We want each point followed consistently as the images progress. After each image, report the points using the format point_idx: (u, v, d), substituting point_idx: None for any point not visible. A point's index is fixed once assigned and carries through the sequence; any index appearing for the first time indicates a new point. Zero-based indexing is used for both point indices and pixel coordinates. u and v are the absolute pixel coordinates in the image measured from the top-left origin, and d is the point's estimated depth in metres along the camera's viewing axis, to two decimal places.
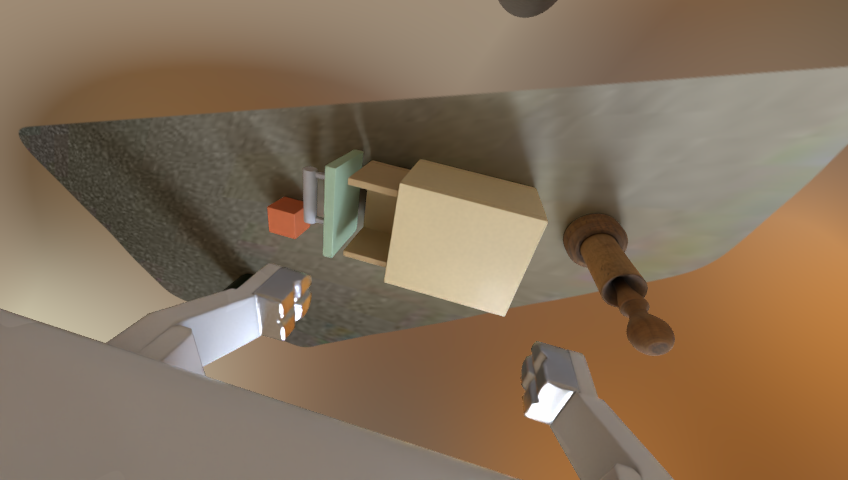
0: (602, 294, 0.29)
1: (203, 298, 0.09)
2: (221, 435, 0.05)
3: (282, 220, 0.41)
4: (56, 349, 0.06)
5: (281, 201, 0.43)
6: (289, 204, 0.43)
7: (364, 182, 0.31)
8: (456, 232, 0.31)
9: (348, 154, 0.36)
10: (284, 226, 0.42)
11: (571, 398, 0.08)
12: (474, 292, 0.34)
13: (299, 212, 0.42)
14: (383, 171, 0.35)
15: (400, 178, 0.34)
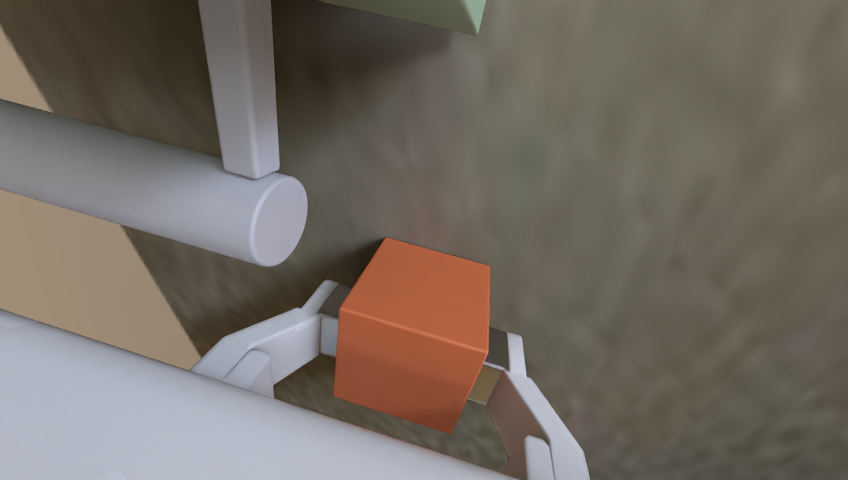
0: None
1: (272, 319, 0.08)
2: (221, 435, 0.05)
3: (385, 368, 0.09)
4: (56, 349, 0.06)
5: None
6: None
7: None
8: None
9: None
10: (413, 369, 0.08)
11: (501, 377, 0.09)
12: None
13: (369, 281, 0.09)
14: None
15: None
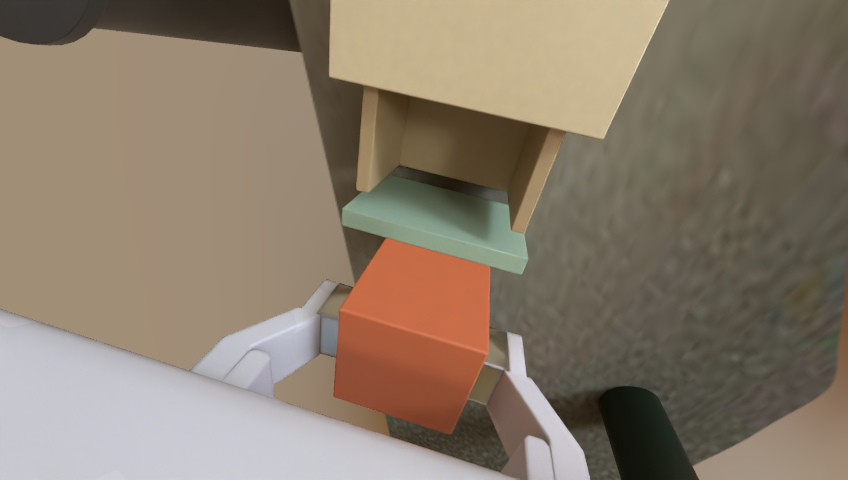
0: None
1: (271, 319, 0.08)
2: (221, 435, 0.05)
3: (385, 369, 0.09)
4: (56, 349, 0.06)
5: None
6: None
7: (359, 160, 0.17)
8: None
9: None
10: (413, 370, 0.08)
11: (501, 377, 0.09)
12: None
13: (370, 282, 0.09)
14: None
15: None
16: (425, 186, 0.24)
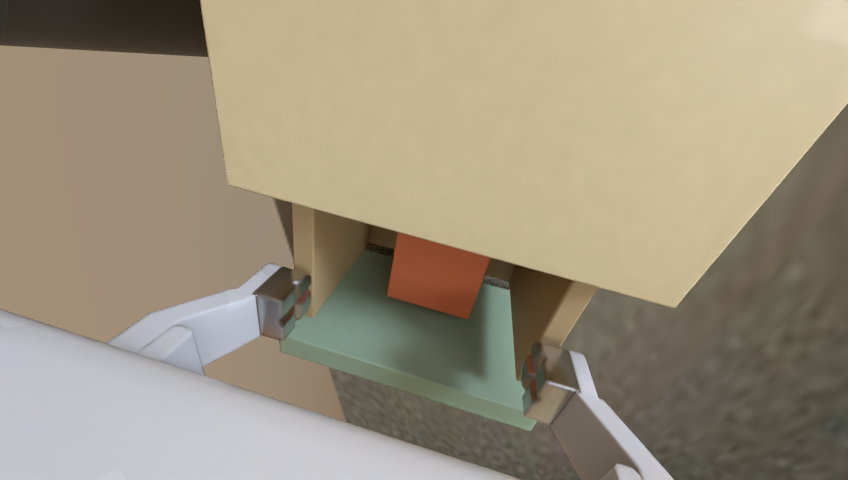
0: None
1: (203, 298, 0.09)
2: (221, 435, 0.05)
3: (426, 267, 0.13)
4: (57, 348, 0.06)
5: None
6: None
7: None
8: None
9: None
10: (445, 267, 0.13)
11: (571, 398, 0.08)
12: None
13: None
14: None
15: None
16: None
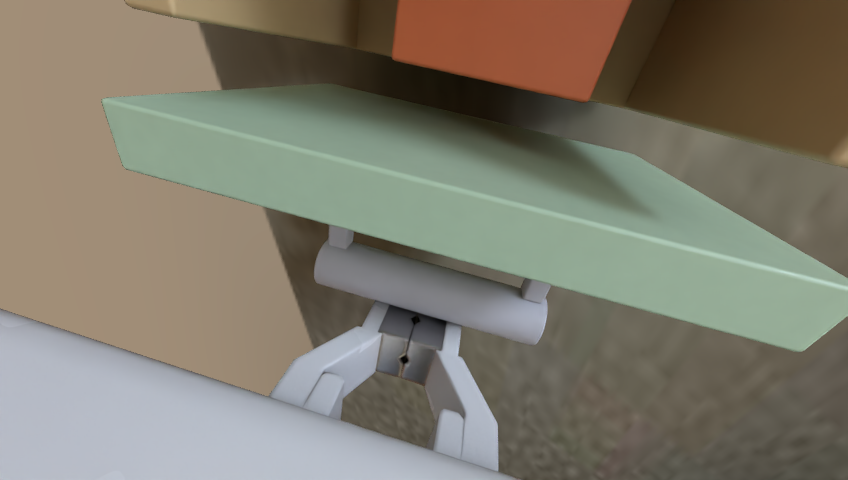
0: None
1: (336, 339, 0.08)
2: (221, 435, 0.05)
3: None
4: (56, 349, 0.06)
5: None
6: None
7: None
8: None
9: None
10: None
11: (434, 356, 0.09)
12: None
13: None
14: None
15: None
16: (419, 106, 0.11)
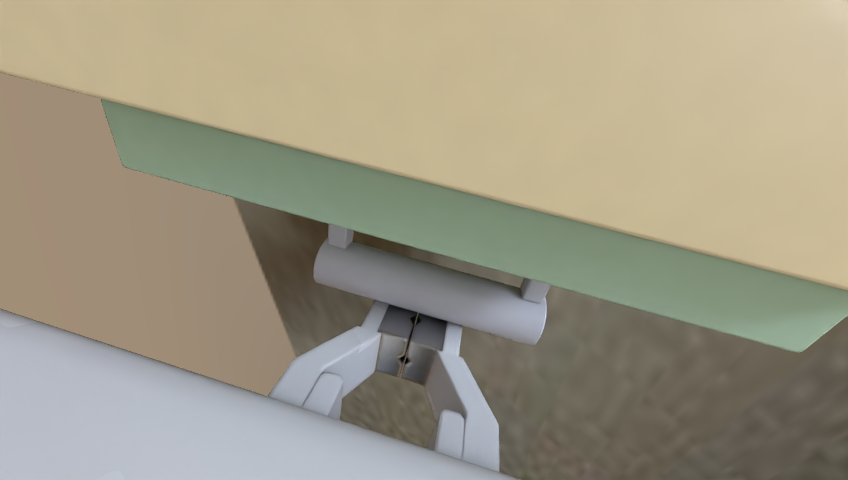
0: None
1: (336, 338, 0.08)
2: (221, 435, 0.05)
3: None
4: (56, 349, 0.06)
5: None
6: None
7: None
8: None
9: None
10: None
11: (434, 356, 0.09)
12: None
13: None
14: None
15: None
16: None
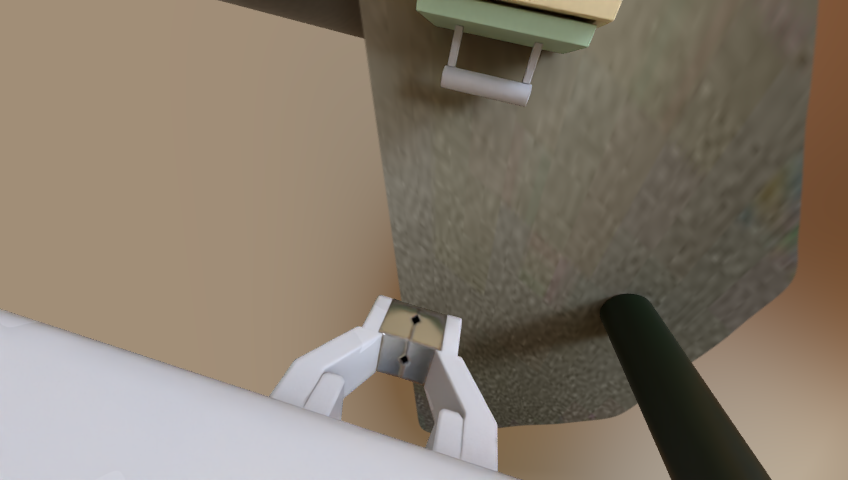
0: None
1: (337, 339, 0.08)
2: (221, 435, 0.05)
3: None
4: (57, 348, 0.06)
5: None
6: None
7: None
8: None
9: None
10: None
11: (433, 356, 0.09)
12: None
13: None
14: None
15: None
16: None
